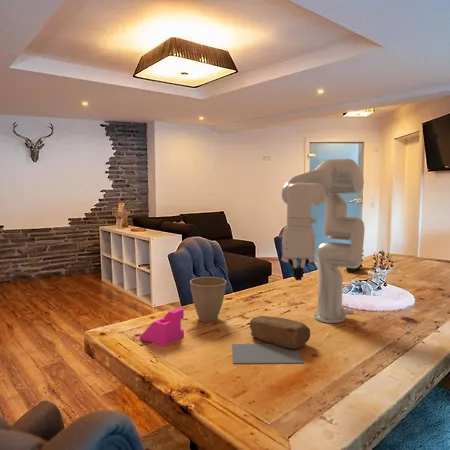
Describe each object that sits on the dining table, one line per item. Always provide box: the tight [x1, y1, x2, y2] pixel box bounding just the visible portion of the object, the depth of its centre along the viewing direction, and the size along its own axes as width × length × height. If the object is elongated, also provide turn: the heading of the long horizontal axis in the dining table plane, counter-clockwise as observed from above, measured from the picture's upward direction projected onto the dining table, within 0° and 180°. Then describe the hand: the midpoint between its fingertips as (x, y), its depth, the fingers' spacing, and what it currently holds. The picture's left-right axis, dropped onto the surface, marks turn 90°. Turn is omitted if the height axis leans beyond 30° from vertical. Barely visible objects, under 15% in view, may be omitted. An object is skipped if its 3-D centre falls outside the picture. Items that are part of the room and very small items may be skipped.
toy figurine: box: [345, 254, 365, 274], centre depth 246 cm, size 9×19×25 cm
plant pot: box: [189, 276, 227, 323], centre depth 159 cm, size 15×15×16 cm
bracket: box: [139, 307, 185, 347], centre depth 141 cm, size 12×10×10 cm
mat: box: [231, 343, 305, 365], centre depth 127 cm, size 22×14×1 cm, turn 91°
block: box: [249, 315, 311, 349], centre depth 137 cm, size 11×8×20 cm
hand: (298, 279), depth 125 cm, fingers closed
